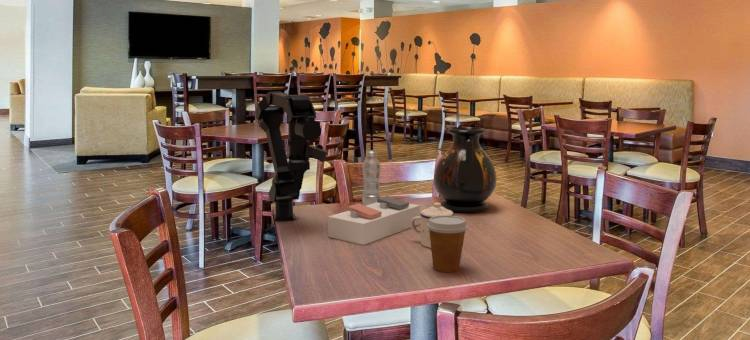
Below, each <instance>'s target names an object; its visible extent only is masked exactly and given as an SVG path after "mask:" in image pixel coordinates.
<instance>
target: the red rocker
mask: <svg viewBox="0 0 750 340" xmlns="http://www.w3.org/2000/svg"><path fill="white" fill-rule="evenodd" d="M347 211H350V212H351V211H354V212H358V215H361V216H363V217H366V218H368V219H373V218H376V217H379V216H381V214H382V212H381V211H378V210H375V209H373V208H370V207H367V206H365V205H363V203H362V204H361V203H356V204H351V205H348V206H347Z"/></svg>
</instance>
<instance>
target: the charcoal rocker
mask: <svg viewBox="0 0 750 340" xmlns="http://www.w3.org/2000/svg"><path fill="white" fill-rule="evenodd" d="M377 202H378V203H387V206H390V207H393V208H396V209H402V208H406V207H409V204H410V202H408V201H404V200H401V199H398V198H395V197H392V196H389V195H385V196H381V198H377Z"/></svg>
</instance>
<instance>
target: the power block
mask: <svg viewBox="0 0 750 340" xmlns="http://www.w3.org/2000/svg"><path fill="white" fill-rule="evenodd" d="M366 206H367V207H370V208H373V209H375V210H378V211H381V212H382V214H381V216H379V217H376V218H373V219H368V218H366V217H363V216H361V215H358V212H354V211H351V212H350V211H348V210H346V211H343V212H339V213H335V214H332V215H329V216H327V217H328V218H327V220H328V221H327V223H328V225H327V227H328V228H327V229H328V231H327V236H328V238H333V239H336V240H339V241H345V242H348V243H349V242H350V243H353V244H358V245H363V246H364V245H368V244H370V243H373V242H375V241H379V240H381V239H384V238H386V237H389V236H392V235H394V234H397V233H400V232H403V231H404V230H407V229H412V227H411V220H412V219H413V218H414V217H416V216H421V215H420V213H421V205H420V204H414V203H409V207H406V208H402V209H396V208H393V207H390V206H387V203H378V202H377V203H373V204H370V205H366ZM414 225H415V227H416V226H418V225H421V219H415V221H414Z"/></svg>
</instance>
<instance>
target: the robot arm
mask: <svg viewBox="0 0 750 340" xmlns="http://www.w3.org/2000/svg"><path fill="white" fill-rule="evenodd" d="M254 112H255V115H254V116H255V119H256V121H257V123H258V126H259V128H261V130H262V131H264V133H265V134H266V139H267V144H268V147H269V152H270V153H269V154H270V157H271V160H272V161H271V162H272V165H273V169H274V174H273V177H272V180H271V186H270V188H269V190H268V199H269V201H271V202H272V203H274V204H275V205H274V206H275V208H274V211H275V213H274V216H273V221H295V219H296V218H295V217H296V215H295V213H294V200H299V199H300V193H301V190H302V188H303V181H304V177H305V176H304V175H305V172H307V171H309V170H311V169H310V168H311V164H310V158H312V159H314V160H317V161H319V162H321V163H325V161H326V159H327V155H328V151H327V150H326V149H324V147H323V144H319V143H317V144H316V146H314V145H311V144H310V142H312V141H317V140H318V139H319V138H320V137H321V134H322V127H321V125H320V123H319V122H317V121H316V120H315V119H316V118H317V115H316V114H317V112H316V109H315V107H314V104H313V102H312V100H311V98H310V96H309V95H308V94H287V93H285V92H282V91H269V92H267V93H266V95H265V97H264V98H263V99H261V100H260V101H259V102H258V103H257V106H256V109H255V111H254ZM285 114H286V115H287V118H286V121H287V126H288V158H287V152H286V149H285V145H284V141H283V140H284V139H283V136H282V132H281V126H282V122H283V121H284V120H283V119H284V118H283V116H284V115H285Z"/></svg>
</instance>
